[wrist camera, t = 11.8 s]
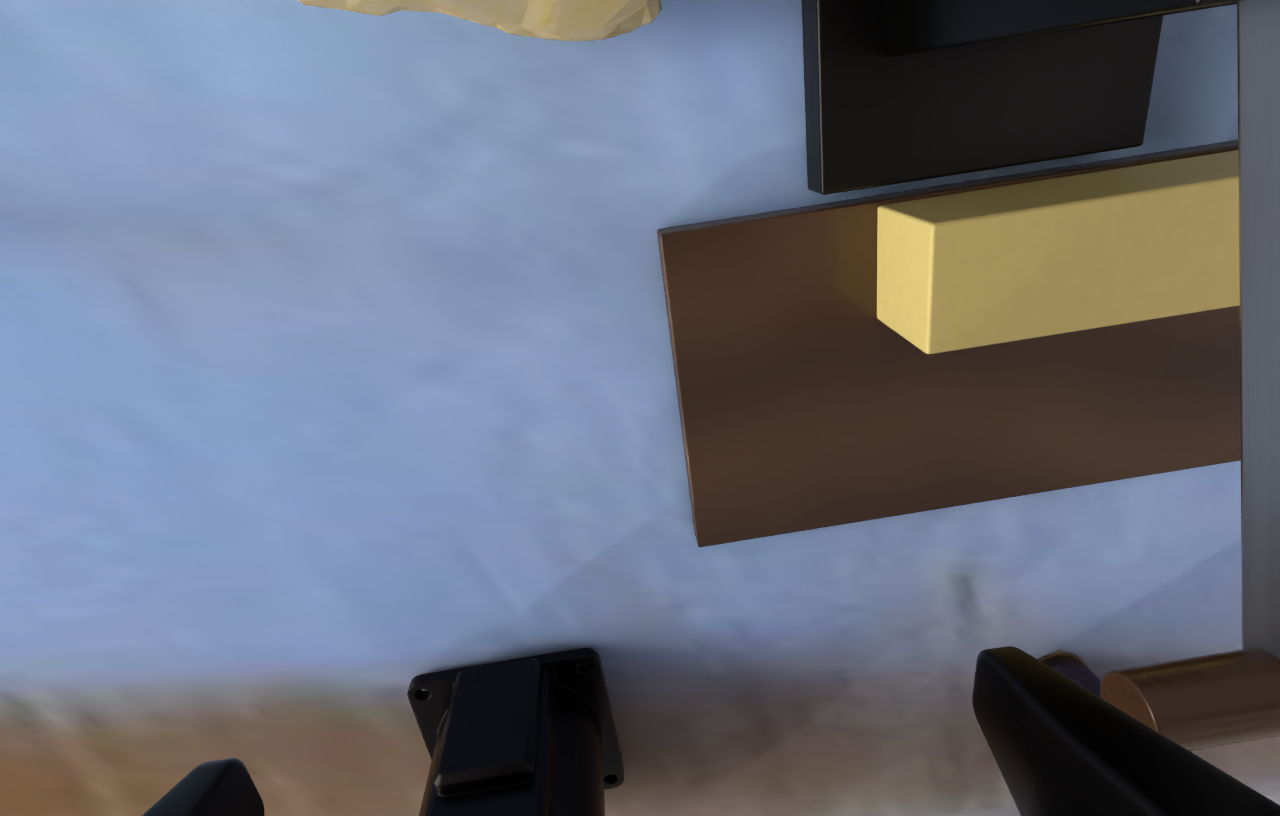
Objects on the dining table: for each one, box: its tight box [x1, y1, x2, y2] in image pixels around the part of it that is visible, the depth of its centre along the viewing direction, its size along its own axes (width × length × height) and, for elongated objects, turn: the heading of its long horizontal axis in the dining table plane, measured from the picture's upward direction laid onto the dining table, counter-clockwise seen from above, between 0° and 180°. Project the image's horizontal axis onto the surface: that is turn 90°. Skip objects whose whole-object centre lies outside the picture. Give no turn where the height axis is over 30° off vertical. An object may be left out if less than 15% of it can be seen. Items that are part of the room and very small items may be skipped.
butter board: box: [657, 140, 1241, 547], centre depth 19 cm, size 10×18×1 cm, turn 98°
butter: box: [877, 150, 1240, 354], centre depth 16 cm, size 3×10×3 cm, turn 98°
